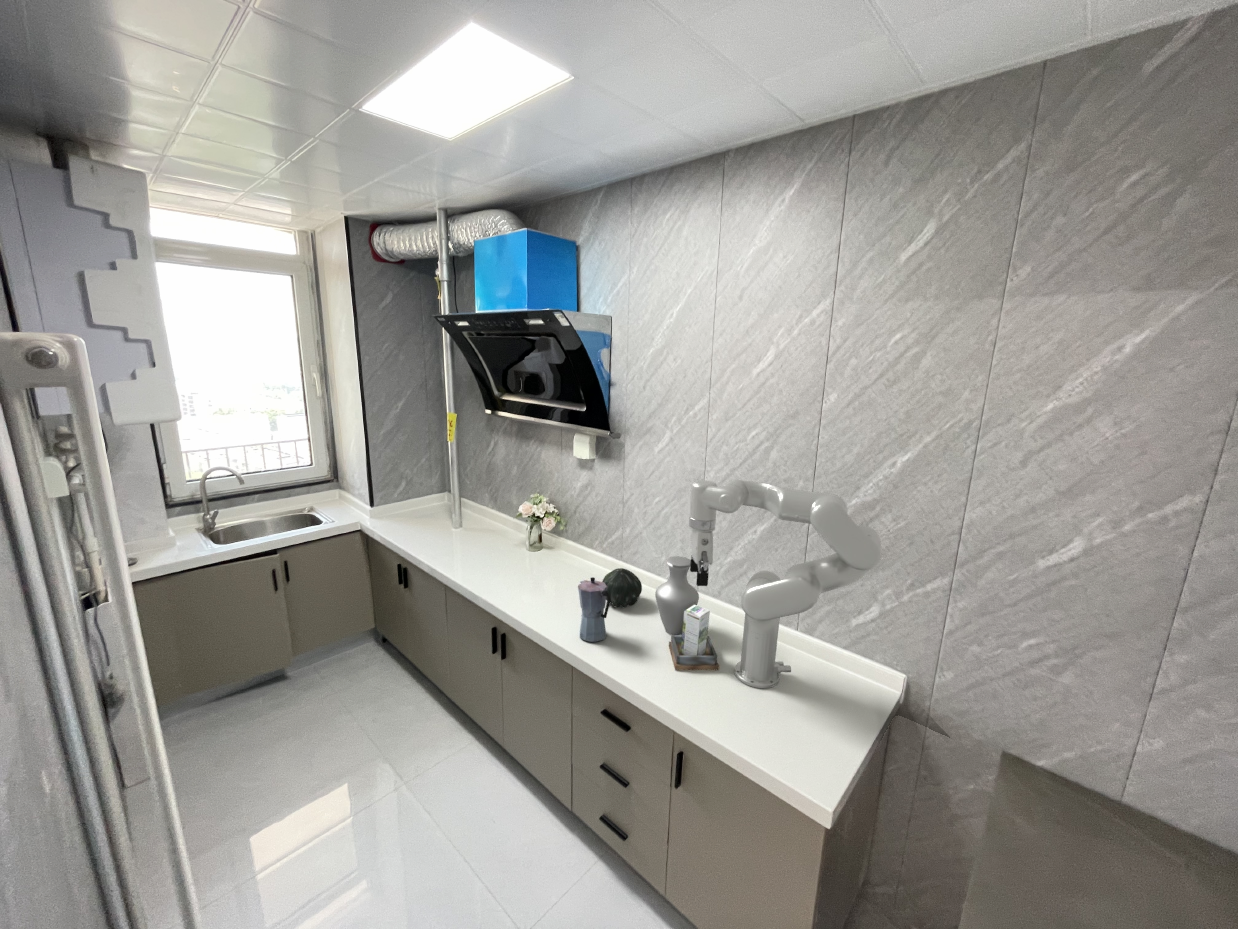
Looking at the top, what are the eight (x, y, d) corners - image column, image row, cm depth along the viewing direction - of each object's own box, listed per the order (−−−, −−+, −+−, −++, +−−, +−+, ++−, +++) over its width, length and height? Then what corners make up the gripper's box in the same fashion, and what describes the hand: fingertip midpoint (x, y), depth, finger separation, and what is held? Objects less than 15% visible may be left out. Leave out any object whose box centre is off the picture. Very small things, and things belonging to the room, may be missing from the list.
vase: (648, 636, 168) (651, 565, 163) (660, 616, 182) (663, 550, 176) (691, 645, 164) (696, 572, 158) (700, 624, 177) (705, 556, 172)
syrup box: (690, 646, 161) (693, 603, 158) (706, 653, 157) (710, 609, 154) (680, 653, 156) (683, 609, 153) (697, 661, 153) (700, 616, 150)
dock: (709, 646, 164) (709, 634, 163) (718, 670, 151) (719, 658, 150) (668, 645, 163) (669, 634, 162) (675, 670, 150) (675, 658, 150)
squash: (626, 575, 202) (609, 555, 193) (654, 589, 192) (638, 568, 182) (605, 605, 197) (587, 586, 187) (633, 621, 187) (615, 601, 177)
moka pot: (589, 622, 176) (590, 567, 172) (621, 640, 165) (623, 582, 161) (567, 632, 169) (568, 575, 165) (599, 651, 159) (600, 591, 155)
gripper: (722, 533, 140) (717, 591, 143) (708, 514, 157) (704, 567, 160) (695, 533, 140) (691, 591, 143) (684, 514, 157) (681, 566, 160)
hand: (698, 578), depth 152 cm, fingers open, 9 cm apart
